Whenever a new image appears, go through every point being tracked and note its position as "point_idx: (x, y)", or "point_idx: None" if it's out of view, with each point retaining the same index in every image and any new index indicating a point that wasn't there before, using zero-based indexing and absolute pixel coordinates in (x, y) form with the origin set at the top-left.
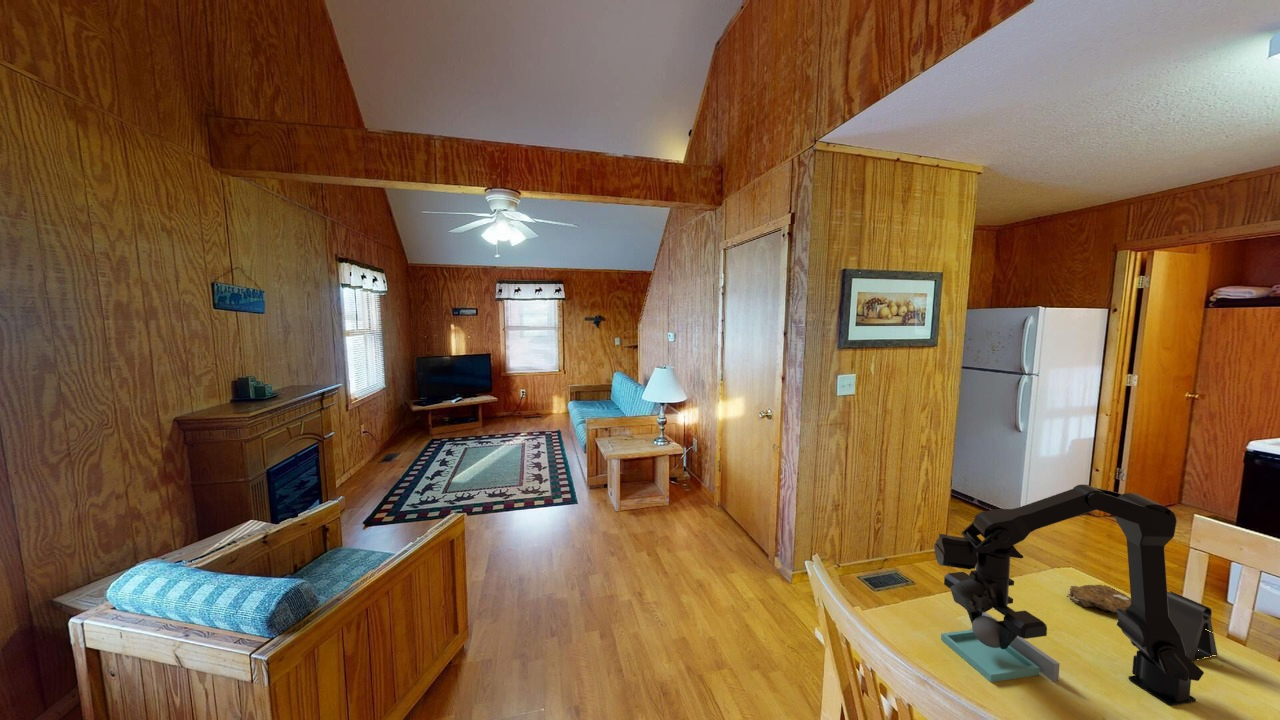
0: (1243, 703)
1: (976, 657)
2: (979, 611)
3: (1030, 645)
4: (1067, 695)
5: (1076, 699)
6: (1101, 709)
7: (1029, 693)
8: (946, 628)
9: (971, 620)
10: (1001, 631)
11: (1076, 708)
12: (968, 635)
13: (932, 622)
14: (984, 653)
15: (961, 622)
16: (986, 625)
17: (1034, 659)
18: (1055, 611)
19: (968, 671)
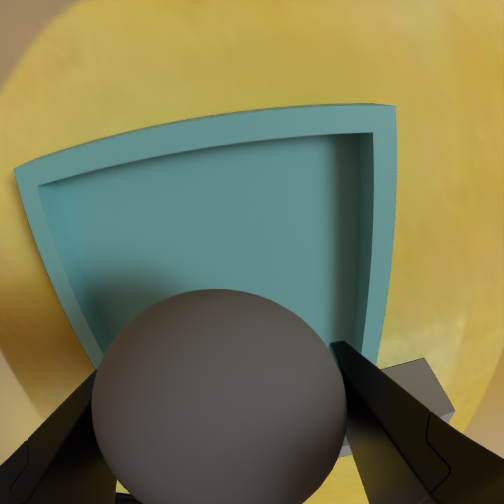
0: None
1: (198, 206)
2: (373, 487)
3: None
4: (56, 389)
5: (49, 396)
6: (38, 413)
7: (18, 287)
8: (440, 218)
9: (368, 374)
10: (23, 484)
11: (12, 368)
12: (362, 287)
13: (483, 178)
14: (232, 277)
15: (441, 317)
16: (152, 463)
17: None
18: (363, 498)
19: (100, 81)
